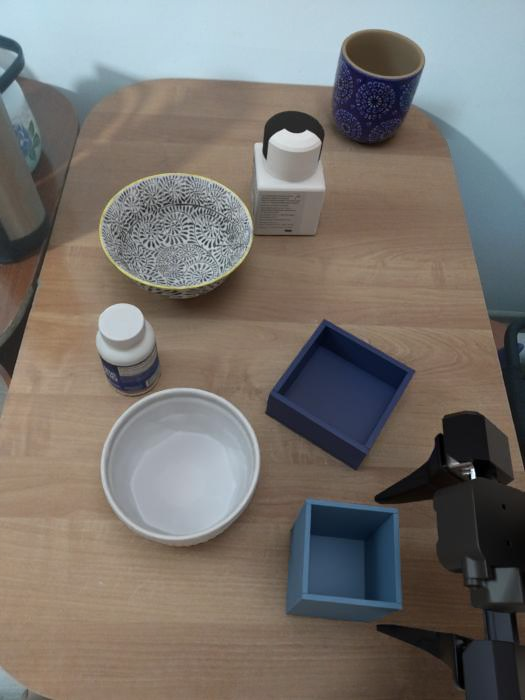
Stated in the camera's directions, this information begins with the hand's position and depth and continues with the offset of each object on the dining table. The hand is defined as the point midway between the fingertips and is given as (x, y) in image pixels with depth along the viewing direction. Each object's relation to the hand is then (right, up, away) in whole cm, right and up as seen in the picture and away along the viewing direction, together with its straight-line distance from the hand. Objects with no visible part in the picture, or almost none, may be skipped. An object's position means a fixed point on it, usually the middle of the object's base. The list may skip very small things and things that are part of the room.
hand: (377, 560), depth 42 cm
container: (-6, +33, +29) cm, 44 cm away
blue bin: (-3, -4, +7) cm, 8 cm away
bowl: (-18, +25, +23) cm, 38 cm away
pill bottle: (-22, +13, +15) cm, 30 cm away
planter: (+6, +48, +38) cm, 62 cm away
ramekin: (-16, +3, +10) cm, 19 cm away
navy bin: (-1, +11, +15) cm, 19 cm away
